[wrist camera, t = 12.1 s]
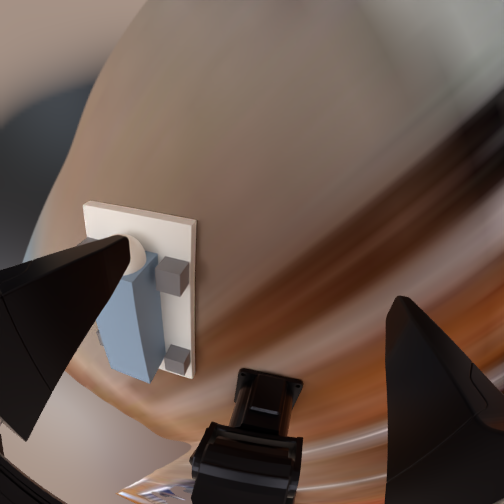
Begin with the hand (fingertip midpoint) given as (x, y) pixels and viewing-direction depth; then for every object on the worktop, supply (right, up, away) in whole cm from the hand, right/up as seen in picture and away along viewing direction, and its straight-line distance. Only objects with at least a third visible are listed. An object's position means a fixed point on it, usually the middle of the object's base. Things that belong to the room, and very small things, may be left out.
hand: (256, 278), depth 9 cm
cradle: (-10, -4, +17) cm, 20 cm away
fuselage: (-10, -4, +16) cm, 20 cm away
